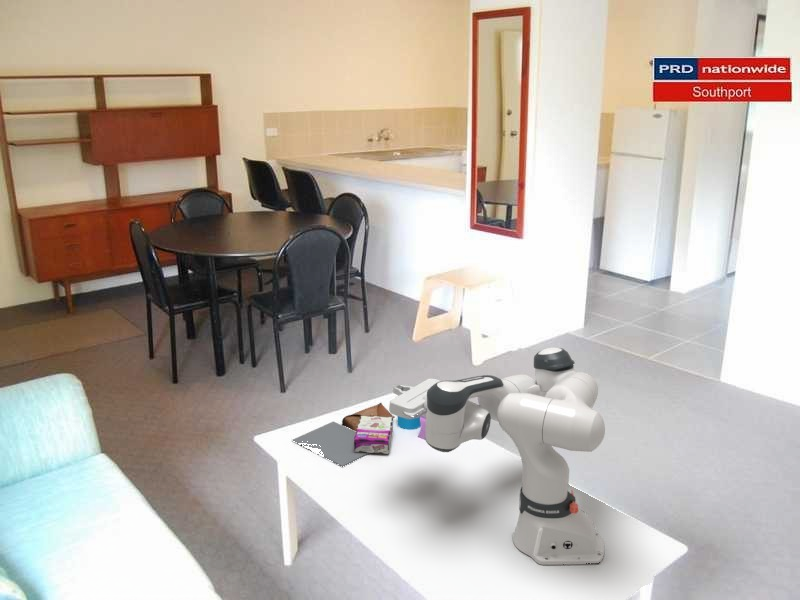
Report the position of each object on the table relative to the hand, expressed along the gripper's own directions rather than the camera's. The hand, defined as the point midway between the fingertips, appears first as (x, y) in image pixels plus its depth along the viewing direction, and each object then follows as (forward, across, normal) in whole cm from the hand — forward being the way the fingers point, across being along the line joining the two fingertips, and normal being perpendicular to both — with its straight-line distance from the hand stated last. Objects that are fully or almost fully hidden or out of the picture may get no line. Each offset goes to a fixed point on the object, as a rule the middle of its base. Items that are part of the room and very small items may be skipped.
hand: (396, 388), depth 199 cm
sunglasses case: (+26, +24, -32) cm, 48 cm away
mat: (+24, +5, -31) cm, 40 cm away
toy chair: (+3, +29, -29) cm, 41 cm away
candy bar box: (+11, +6, -27) cm, 30 cm away
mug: (+14, +32, -30) cm, 46 cm away
